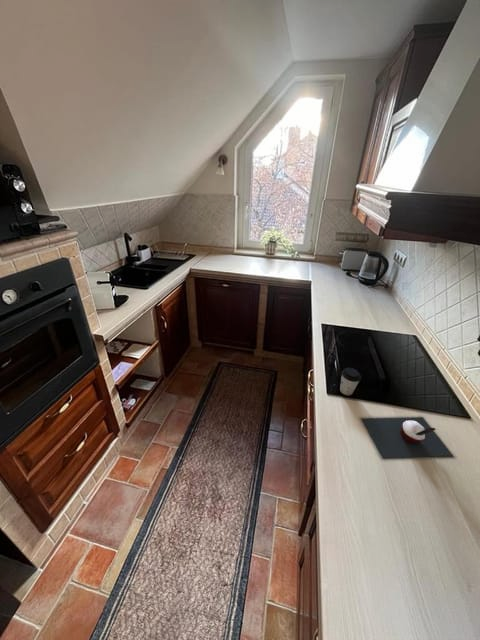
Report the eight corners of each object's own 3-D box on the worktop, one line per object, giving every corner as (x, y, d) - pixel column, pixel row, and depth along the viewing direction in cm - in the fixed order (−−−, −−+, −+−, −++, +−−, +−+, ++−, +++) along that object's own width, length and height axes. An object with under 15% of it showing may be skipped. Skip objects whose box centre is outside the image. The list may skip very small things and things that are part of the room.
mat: (422, 418, 89) (422, 417, 89) (452, 456, 77) (453, 455, 77) (361, 419, 88) (361, 418, 88) (382, 458, 76) (382, 457, 76)
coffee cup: (358, 392, 99) (365, 372, 94) (350, 401, 95) (356, 381, 90) (342, 382, 103) (348, 363, 98) (333, 390, 99) (338, 371, 94)
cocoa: (398, 424, 86) (411, 399, 80) (420, 432, 83) (434, 407, 77) (397, 446, 79) (411, 421, 73) (421, 456, 76) (437, 431, 70)
